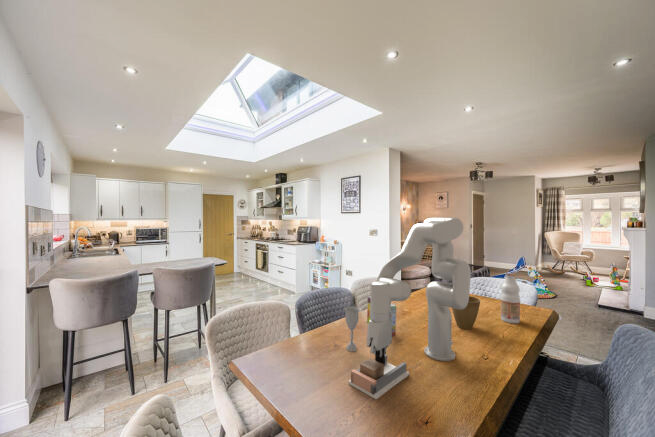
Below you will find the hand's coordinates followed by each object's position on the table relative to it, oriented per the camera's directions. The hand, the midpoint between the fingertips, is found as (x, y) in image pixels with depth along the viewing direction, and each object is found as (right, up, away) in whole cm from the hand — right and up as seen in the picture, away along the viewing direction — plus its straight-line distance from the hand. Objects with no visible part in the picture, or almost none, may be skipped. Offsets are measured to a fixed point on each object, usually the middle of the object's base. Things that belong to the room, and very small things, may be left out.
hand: (380, 365), depth 101 cm
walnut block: (-4, -4, -4) cm, 6 cm away
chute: (0, -5, 0) cm, 5 cm away
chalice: (-8, -5, +24) cm, 26 cm away
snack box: (+10, -6, +48) cm, 50 cm away
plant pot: (+57, -6, +51) cm, 77 cm away
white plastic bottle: (+89, -7, +62) cm, 108 cm away
